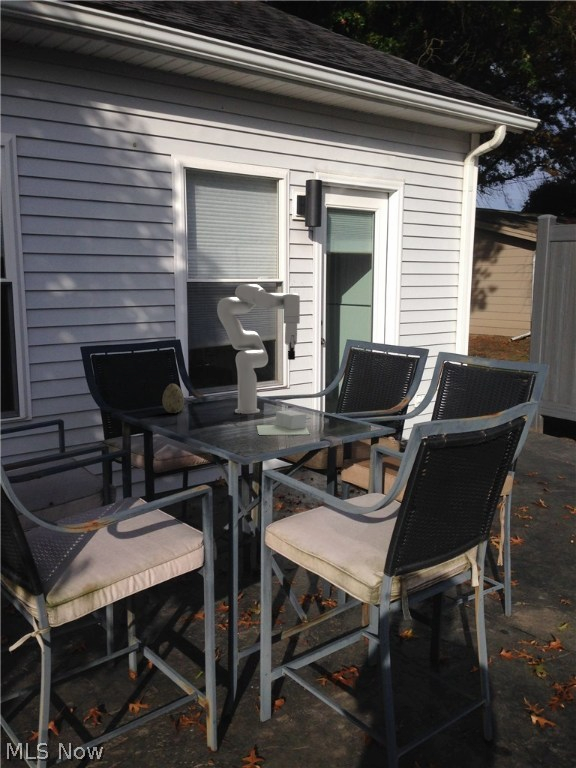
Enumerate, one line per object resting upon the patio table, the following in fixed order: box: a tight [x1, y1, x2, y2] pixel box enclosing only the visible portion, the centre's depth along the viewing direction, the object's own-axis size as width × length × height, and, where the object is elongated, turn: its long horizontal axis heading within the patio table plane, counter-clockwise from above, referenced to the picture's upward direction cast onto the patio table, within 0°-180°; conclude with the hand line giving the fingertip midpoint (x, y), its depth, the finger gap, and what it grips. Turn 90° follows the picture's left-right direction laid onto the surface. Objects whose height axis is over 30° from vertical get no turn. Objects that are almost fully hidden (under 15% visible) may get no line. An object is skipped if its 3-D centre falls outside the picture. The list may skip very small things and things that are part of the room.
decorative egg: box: [161, 383, 185, 414], centre depth 339 cm, size 11×11×15 cm
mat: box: [256, 424, 311, 436], centre depth 299 cm, size 20×22×1 cm
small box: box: [275, 409, 307, 430], centre depth 305 cm, size 8×6×13 cm
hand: (291, 359), depth 318 cm, fingers closed
